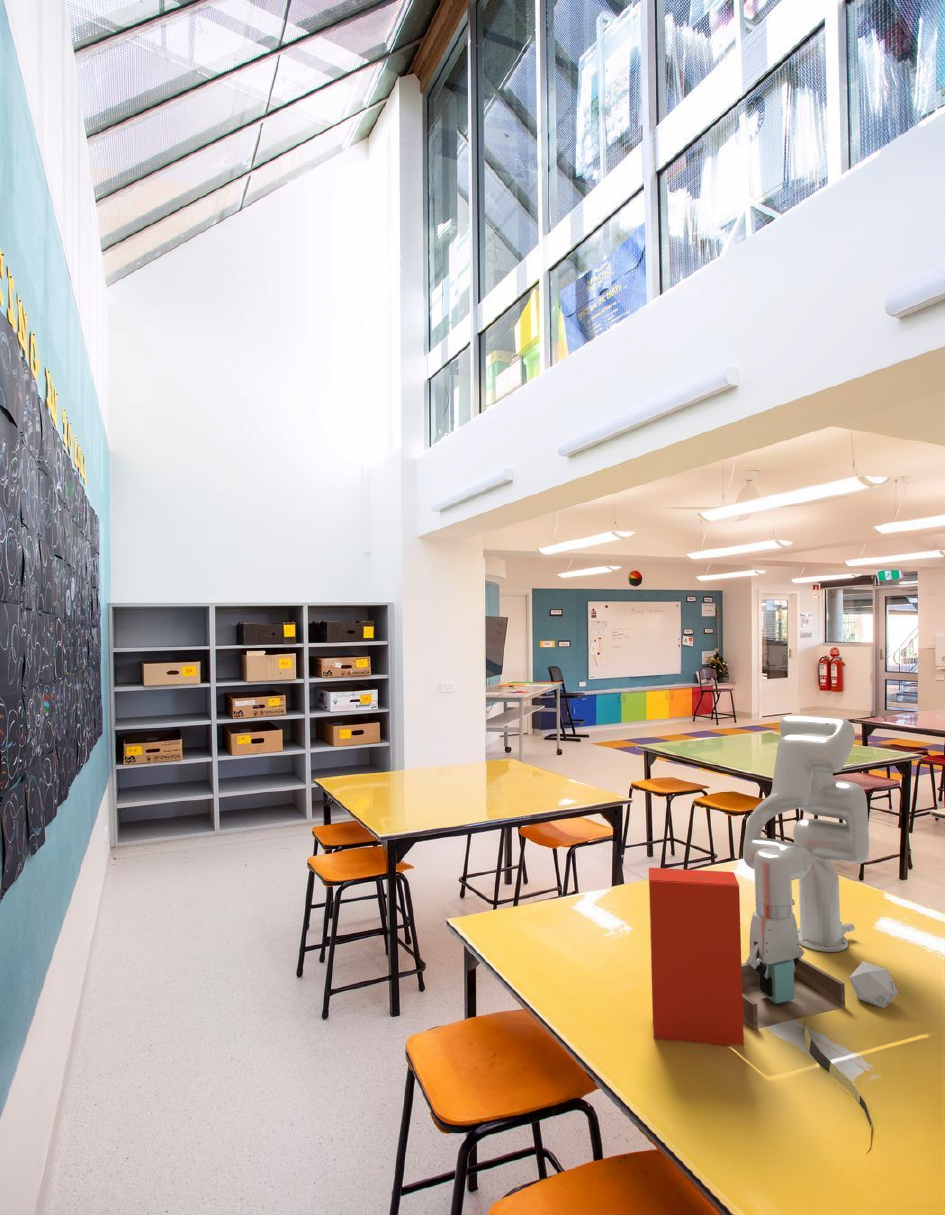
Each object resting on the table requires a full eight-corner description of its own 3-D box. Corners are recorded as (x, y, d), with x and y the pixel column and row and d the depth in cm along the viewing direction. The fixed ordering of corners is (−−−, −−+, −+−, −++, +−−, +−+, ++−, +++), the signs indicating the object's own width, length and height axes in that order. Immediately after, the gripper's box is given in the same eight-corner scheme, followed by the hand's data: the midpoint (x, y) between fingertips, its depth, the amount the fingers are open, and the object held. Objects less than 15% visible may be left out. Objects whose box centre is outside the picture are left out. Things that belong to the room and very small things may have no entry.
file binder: (744, 1049, 139) (739, 885, 140) (653, 1039, 143) (649, 880, 143) (737, 1026, 147) (733, 871, 147) (652, 1017, 150) (648, 866, 151)
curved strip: (831, 1038, 143) (832, 1019, 143) (896, 1186, 106) (896, 1160, 106) (799, 1034, 144) (799, 1015, 144) (851, 1177, 107) (851, 1152, 107)
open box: (793, 977, 166) (792, 953, 166) (845, 1009, 152) (844, 983, 152) (707, 996, 159) (707, 970, 159) (754, 1032, 144) (753, 1004, 144)
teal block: (777, 987, 158) (776, 952, 158) (794, 999, 153) (793, 962, 154) (759, 992, 157) (758, 956, 157) (776, 1003, 152) (774, 966, 152)
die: (868, 1018, 150) (898, 986, 148) (835, 982, 156) (863, 951, 155) (882, 1018, 154) (912, 987, 153) (850, 984, 161) (877, 953, 159)
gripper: (792, 895, 162) (795, 975, 161) (730, 907, 156) (733, 990, 156) (817, 908, 154) (820, 991, 154) (754, 920, 149) (757, 1007, 149)
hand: (776, 989), depth 155 cm, fingers closed on teal block, 5 cm apart
